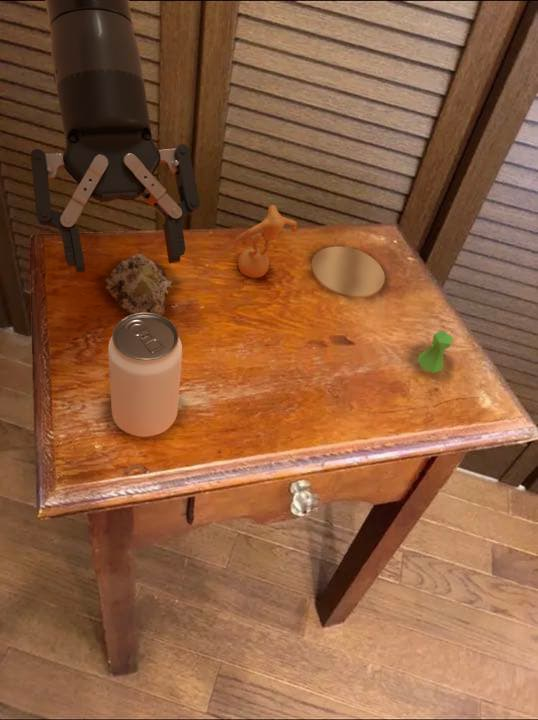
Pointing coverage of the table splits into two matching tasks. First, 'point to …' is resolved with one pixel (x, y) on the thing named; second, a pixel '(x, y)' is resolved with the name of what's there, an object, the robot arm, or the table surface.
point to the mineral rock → (139, 285)
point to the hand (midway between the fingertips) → (129, 267)
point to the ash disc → (347, 272)
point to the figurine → (255, 259)
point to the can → (144, 373)
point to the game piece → (435, 352)
